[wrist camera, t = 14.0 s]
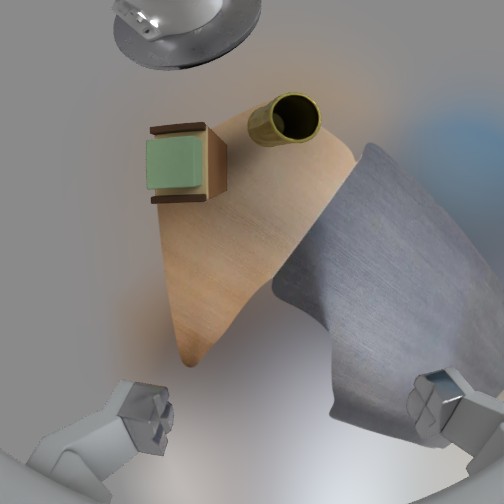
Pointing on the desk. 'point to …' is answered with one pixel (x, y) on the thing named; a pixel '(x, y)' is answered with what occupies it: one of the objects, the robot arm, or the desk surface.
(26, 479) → the robot arm
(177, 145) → the green pad
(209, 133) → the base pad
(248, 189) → the desk surface
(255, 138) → the vase
